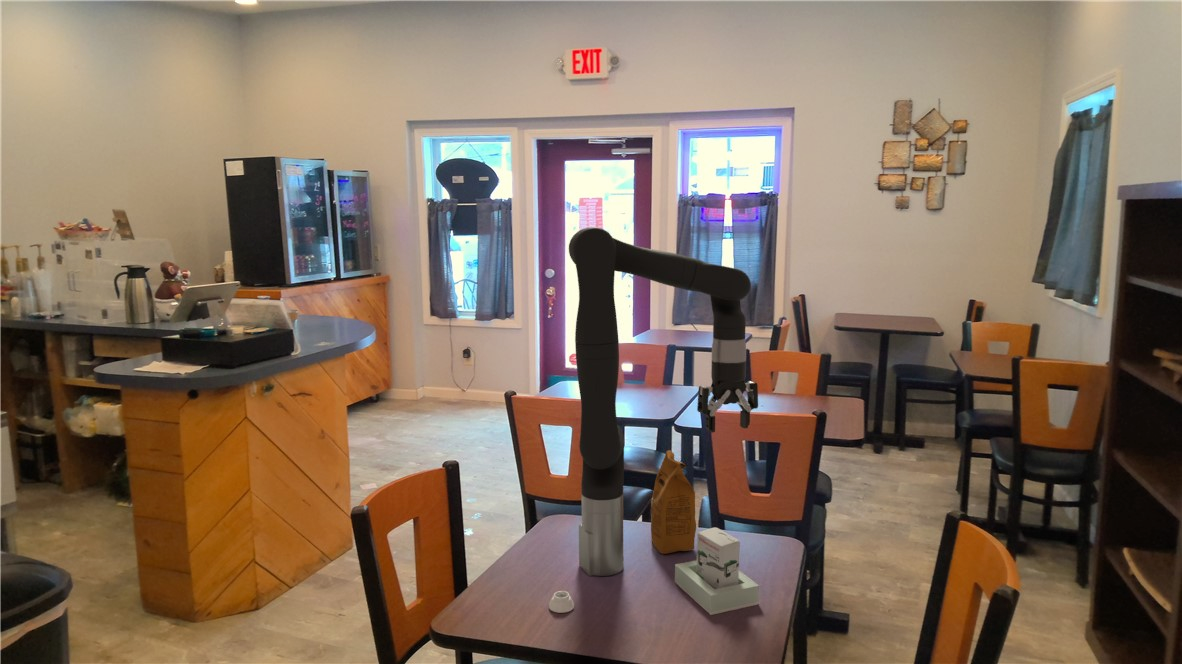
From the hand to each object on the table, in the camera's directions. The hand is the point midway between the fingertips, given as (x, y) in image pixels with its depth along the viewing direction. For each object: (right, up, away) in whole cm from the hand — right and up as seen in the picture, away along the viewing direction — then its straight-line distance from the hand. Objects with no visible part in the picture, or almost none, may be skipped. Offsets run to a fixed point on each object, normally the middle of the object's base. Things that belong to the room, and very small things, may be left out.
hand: (727, 429), depth 170 cm
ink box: (-4, -32, -13) cm, 34 cm away
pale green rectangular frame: (-5, -32, -13) cm, 35 cm away
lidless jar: (-37, -34, -18) cm, 53 cm away
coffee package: (-11, -29, +11) cm, 33 cm away
